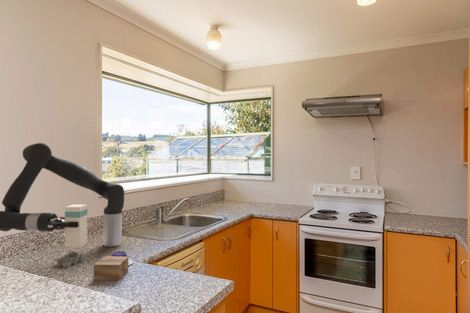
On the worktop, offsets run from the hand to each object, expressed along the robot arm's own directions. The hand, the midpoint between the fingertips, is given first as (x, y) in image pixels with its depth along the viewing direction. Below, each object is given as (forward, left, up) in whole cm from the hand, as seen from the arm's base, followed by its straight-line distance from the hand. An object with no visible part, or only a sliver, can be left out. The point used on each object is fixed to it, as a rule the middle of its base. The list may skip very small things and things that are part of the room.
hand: (82, 222), depth 127 cm
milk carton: (0, -2, -9) cm, 9 cm away
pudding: (-13, +10, -22) cm, 27 cm away
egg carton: (-13, -12, -22) cm, 28 cm away
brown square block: (0, +12, -21) cm, 25 cm away
